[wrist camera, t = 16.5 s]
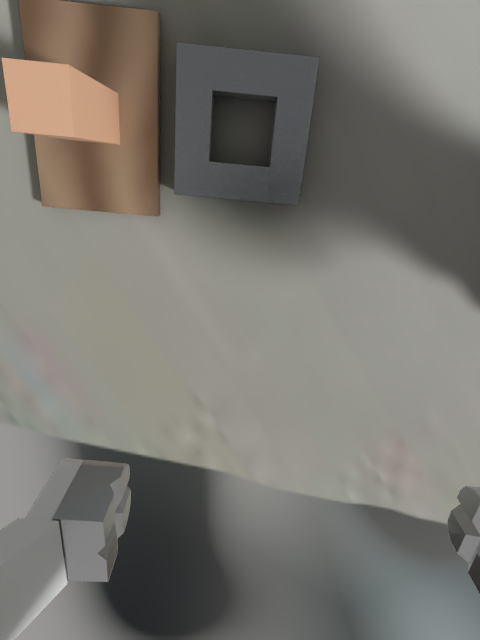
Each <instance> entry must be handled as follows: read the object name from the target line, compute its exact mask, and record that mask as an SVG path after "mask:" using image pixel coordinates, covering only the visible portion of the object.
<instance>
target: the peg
mask: <svg viewBox="0 0 480 640" xmlns="http://www.w3.org/2000/svg"><path fill="white" fill-rule="evenodd" d="M2 65H3V72H4V79H5V87H6V94H7V101H8V109H9V116H10V123H11V130H12V131H13V132H20V133H27V134H34V135H41V136H48V137H54V138H61V139H68V140H75V141H86V142H96V143H107V144H117V145H120V130H119V102H118V93H117V92H115V91H113V90H111V89H110V88H108V87H106V86H104V85H103V84H101V83H99V82H98V81H96V80H94V79H92V78H91V77H89V76H87V75H86V74H84V73H82V72H80V71H79V70H77V69H75V68H73V67H72V66H70V65H68V64H59V63H49V62H39V61H29V60H19V59H10V58H2Z"/></svg>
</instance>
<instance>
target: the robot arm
mask: <svg viewBox="0 0 480 640" xmlns="http://www.w3.org/2000/svg"><path fill="white" fill-rule="evenodd" d="M129 477H130V470H129V465H128V464H124V463H114V462H103V461H92V460H77V459H76V460H75V459H66V458H65V459H63V460H62V461H61V462H60V463H59V464H58V465H57V467H56V469H55V470H54V472H53V473H52V475H51V476H50V478H49V480H48V481H47V483H46V485H45V486H44V488H43V490H42V491H41V493H40V495H39V496H38V498H37V499H36V501H35V503H34V504H33V506H32V507H31V509H30V511H29V513H28V514H27V516H26V517H25V519H23V518H17V519H16V520H14V521H13V522H12V523H10V524H9V525H7V526H6V527H4V528H3V529H1V530H0V640H15V639H16V638H17V636H18V635H19V634H20V633H21V632H22V631H23V630H24V629H25V628H26V627H27V626H28V625H29V624H30V623H31V622H32V621H33V620H34V619H35V617H36V616H37V615H38V614H39V613H40V612H41V611H42V610H43V609H44V608H45V607H46V606H47V605H48V604H49V603H50V602H51V600H52V599H53V598H54V597H55V596H56V595H57V594H58V593H59V592H60V591H61V590H62V589H63V588H64V587H65V586H66V585H67V581H96V582H108V580H109V577H110V574H111V571H112V568H113V565H114V561H115V558H116V555H117V552H118V548H117V538H118V537H120V536H121V535H122V534H123V533H124V530H125V527H126V523H127V519H128V514H129V509H130V500H131V499H130V498H131V491H130V489H129V488H128V487H127V483H128V480H129ZM457 498H458V501H459V503H460V505H459V506H457V507H456V508H454V509H453V510H452V511H451V513H450V516H449V518H448V533H449V536H450V540H451V543H452V544H453V546H454V548H455V550H456V552H457V553H458V554H459V555H460V556H461V557H462V558H464V559H465V560H466V561H467V562H468V563H469V566H468V574H469V575H470V577H471V579H472V581H473V582H474V584H475V586H476V588H477V590H478V591H479V593H480V487H472V486H465V487H464V488H462V489H461V490H460V492H459V494H458V496H457Z"/></svg>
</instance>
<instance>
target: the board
mask: <svg viewBox="0 0 480 640" xmlns="http://www.w3.org/2000/svg"><path fill="white" fill-rule="evenodd" d="M18 2H19V11H20V19H21V28H22V36H23V45H24V54H25V60H29V61H39V62H49V63H59V64H68V65H70V66H72V67H73V68H75V69H77V70H79V71H80V72H82V73H84V74H86V75H87V76H89V77H91V78H92V79H94V80H96V81H98V82H99V83H101V84H103V85H104V86H106V87H108V88H110V89H111V90H113V91H115V92H117V93H118V102H119V130H120V145H117V144H107V143H96V142H86V141H75V140H68V139H61V138H54V137H48V136H41V135H34V139H35V148H36V156H37V165H38V174H39V182H40V191H41V199H42V206H46V207H58V208H69V209H80V210H91V211H103V212H114V213H125V214H137V215H148V216H159V215H160V14H159V13H158V11H154V10H145V9H135V8H126V7H117V6H107V5H98V4H89V3H79V2H70V1H60V0H18Z"/></svg>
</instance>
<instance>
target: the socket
mask: <svg viewBox="0 0 480 640" xmlns="http://www.w3.org/2000/svg"><path fill="white" fill-rule="evenodd" d="M319 59H320V57H312V56H303V55H293V54H284V53H274V52H265V51H255V50H245V49H236V48H226V47H217V46H207V45H197V44H188V43H178V42H177V50H176V111H175V172H174V194H177V195H188V196H199V197H210V198H221V199H232V200H243V201H254V202H265V203H276V204H287V205H298V206H299V200H300V193H301V186H302V179H303V172H304V165H305V158H306V150H307V143H308V136H309V129H310V122H311V115H312V108H313V101H314V94H315V87H316V80H317V73H318V66H319ZM214 96H224V97H234V98H244V99H254V100H264V101H274V102H275V107H274V116H273V126H272V135H271V144H270V154H269V163H268V167H262V166H252V165H241V164H230V163H220V162H211V152H212V133H213V114H214Z"/></svg>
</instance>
